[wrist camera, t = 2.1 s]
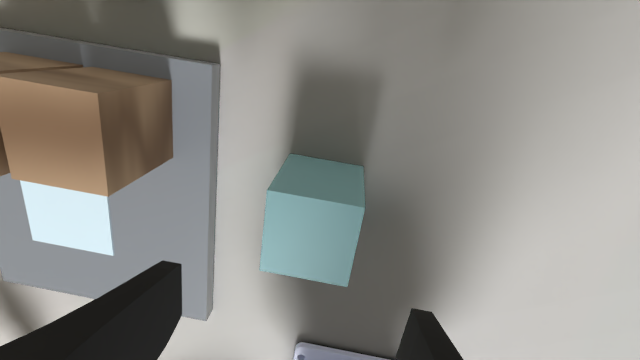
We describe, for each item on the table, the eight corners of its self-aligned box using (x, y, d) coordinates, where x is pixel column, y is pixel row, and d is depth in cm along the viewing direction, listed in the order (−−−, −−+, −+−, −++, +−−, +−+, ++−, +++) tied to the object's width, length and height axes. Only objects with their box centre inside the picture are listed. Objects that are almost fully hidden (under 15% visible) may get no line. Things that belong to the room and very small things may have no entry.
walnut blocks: (173, 157, 18) (108, 196, 13) (21, 130, 18) (-95, 159, 13) (171, 79, 16) (97, 93, 12) (5, 52, 17) (-131, 54, 12)
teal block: (349, 229, 19) (347, 287, 15) (282, 217, 20) (259, 270, 15) (363, 165, 18) (365, 207, 13) (290, 153, 18) (266, 190, 14)
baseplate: (212, 310, 23) (205, 322, 22) (17, 271, 23) (2, 281, 22) (220, 64, 17) (211, 65, 16) (-44, 20, 17) (-69, 18, 16)
